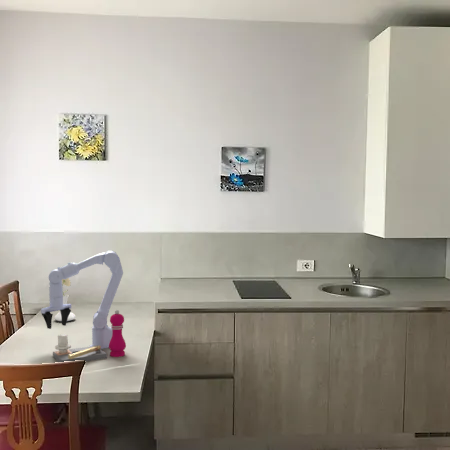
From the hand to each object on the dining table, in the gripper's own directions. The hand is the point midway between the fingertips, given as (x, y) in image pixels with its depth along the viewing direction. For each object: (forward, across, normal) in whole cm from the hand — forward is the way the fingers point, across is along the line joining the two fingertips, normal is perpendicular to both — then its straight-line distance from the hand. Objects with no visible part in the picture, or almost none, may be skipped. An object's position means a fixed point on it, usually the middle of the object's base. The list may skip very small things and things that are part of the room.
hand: (56, 326), depth 254 cm
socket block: (+10, +2, +19) cm, 21 cm away
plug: (+8, +6, +13) cm, 17 cm away
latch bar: (+7, +3, +25) cm, 26 cm away
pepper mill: (+11, -11, +28) cm, 32 cm away
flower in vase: (+11, -36, -46) cm, 60 cm away
